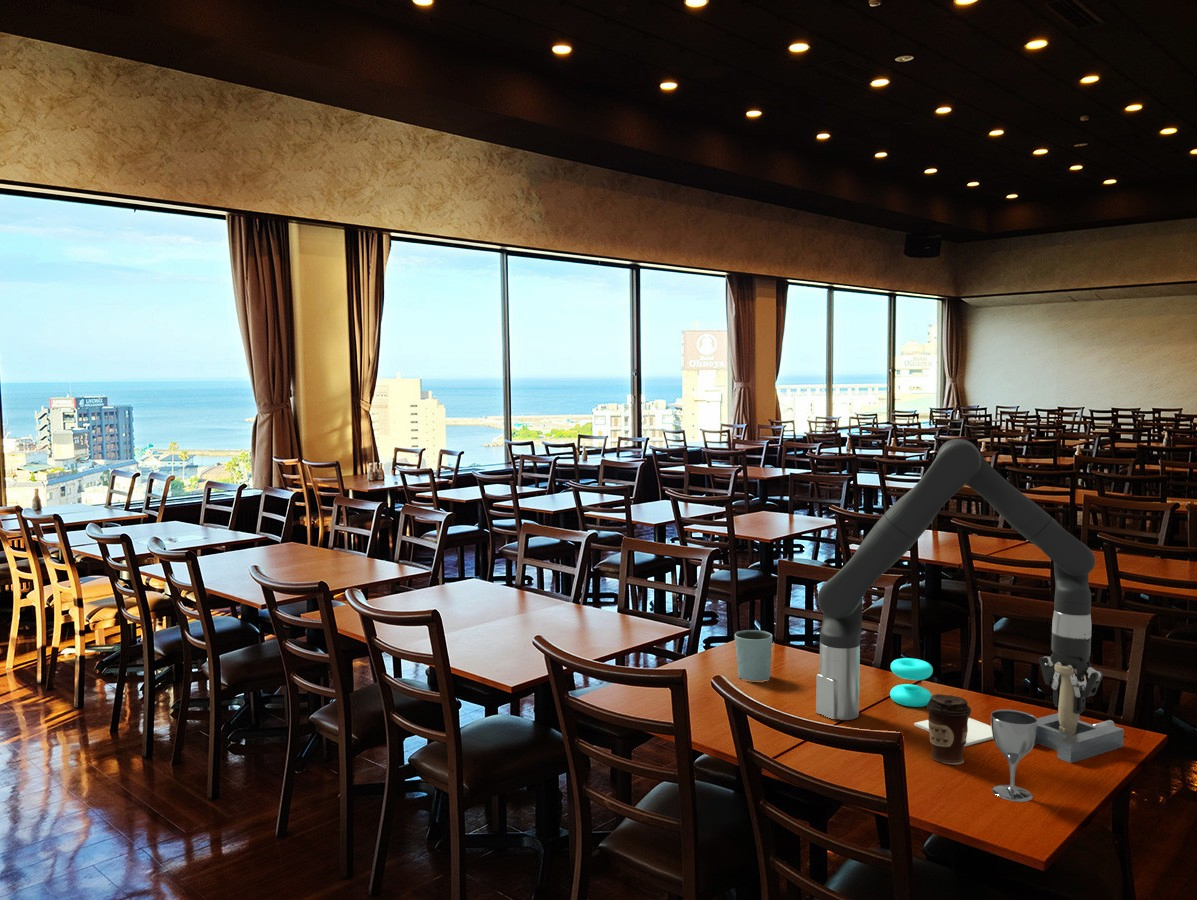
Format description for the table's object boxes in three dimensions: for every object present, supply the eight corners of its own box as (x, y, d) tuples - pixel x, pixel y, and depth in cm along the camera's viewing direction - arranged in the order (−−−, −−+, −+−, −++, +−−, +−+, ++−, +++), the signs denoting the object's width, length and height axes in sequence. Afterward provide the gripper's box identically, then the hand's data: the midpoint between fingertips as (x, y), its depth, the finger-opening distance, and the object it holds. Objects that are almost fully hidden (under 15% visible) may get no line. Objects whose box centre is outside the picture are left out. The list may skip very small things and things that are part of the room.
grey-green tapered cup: (775, 683, 233) (775, 639, 233) (737, 683, 233) (737, 639, 233) (768, 672, 243) (768, 629, 243) (731, 672, 244) (732, 629, 243)
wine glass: (981, 785, 171) (983, 710, 171) (1020, 783, 172) (1022, 708, 171) (1003, 803, 163) (1005, 725, 163) (1044, 801, 164) (1046, 723, 163)
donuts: (907, 670, 212) (882, 658, 222) (907, 710, 213) (881, 697, 222) (941, 666, 215) (915, 655, 225) (941, 706, 216) (914, 693, 225)
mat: (964, 746, 191) (964, 743, 191) (914, 725, 203) (914, 723, 203) (1007, 734, 197) (1007, 732, 197) (956, 715, 209) (956, 712, 209)
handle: (1088, 735, 190) (1090, 667, 189) (1065, 738, 188) (1068, 670, 187) (1069, 727, 195) (1072, 660, 194) (1047, 730, 193) (1049, 663, 192)
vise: (1070, 763, 182) (1071, 744, 181) (1015, 741, 193) (1015, 724, 193) (1139, 741, 193) (1140, 724, 192) (1083, 722, 204) (1083, 706, 204)
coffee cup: (948, 770, 178) (949, 708, 177) (916, 756, 185) (917, 696, 185) (977, 762, 182) (979, 701, 181) (945, 748, 189) (946, 689, 189)
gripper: (1030, 626, 195) (1028, 702, 196) (1092, 642, 182) (1089, 723, 183) (1052, 622, 198) (1049, 697, 199) (1114, 638, 186) (1111, 717, 187)
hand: (1068, 709), depth 191 cm, fingers closed on handle, 4 cm apart
